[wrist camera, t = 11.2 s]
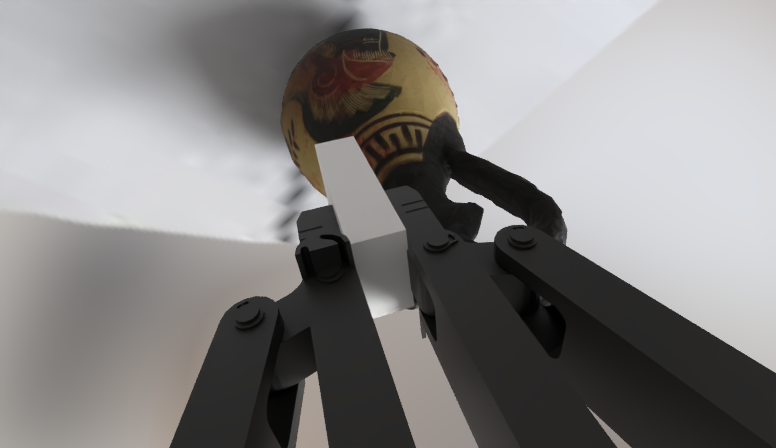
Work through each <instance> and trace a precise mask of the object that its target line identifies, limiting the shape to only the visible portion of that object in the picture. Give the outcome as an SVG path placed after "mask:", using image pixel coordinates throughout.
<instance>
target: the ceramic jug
mask: <svg viewBox="0 0 776 448" xmlns="http://www.w3.org/2000/svg"><path fill="white" fill-rule="evenodd" d="M281 127H282V131H283V135H284V138H285V141H286V144H287V147H288V149H289V152H290V155H291V158H292V160H293V162H294V163H295V165H296V166H297V167H298V169H299V170H300V172H301V173H302V174H303V175H304V176H305V177H306V178H307V180H308V181H309V182H310V183H311V184H312V186H313V187H314V188H315V189H317V190H318V191H319V192H320V193H321V194H323V195H324V196H325V197H327V196H326V191H325V187H324V183H323V179H322V174H321V170H320V166H319V162H318V158H317V153H316V149H315V144H320V143H324V142H329V141H333V140H338V139H343V138H347V137H352V136H354V138H355V140H356V142H357V144H358V145H359V147H360V149H361V151H362V152H363V154H364V156H365V158H366V159H367V161H368V163H369V165H370V167H371V168H372V170H373V172H374V174H375V175H376V177H377V179H378V181H379V183H380V184H381V186H382V188H383V190H384V191H385V190H389V189H394V188H398V187H402V186H406V185H407V186H409V187H411V188H412V189H414V190H416V191H418V193H419V194H420V195H421V197H422V198H423V200H424V201H425V202H426V204H427V205H428V208H430V210H431V211H432V212H433V214H434V215H435V217H436V218H437V219H438V221H439V222H440V224H441V225H442V226H443V228H444V229H445V230H449V231H452V232H454V233H456V234H458V235H459V236H460V237H461V238H462V239H463V241H464V242H469V243H477V242H475V241H474V239H475V238H476V236H477V234H478V231H479V228H480V224H481V220H482V216H483V210H484V209H483V208H482V207H480V206H479V205H477V204H476V203H471V202H468V203H455V202H452V201H451V200H449V199H448V198H447V196H446V194H445V192H446V187H447V184H448V183H449V180H450V178H452V179H454V180H456V181H457V182H458V183H459V184H460V185H462V186H464V187H465V188H467V189H469V190H471V191H472V192H474V193H476V194H479V195H482V196H484V197H485V198H487V199H489V200H491V201H492V202H493V203H494V204H495V205H496V206H499V207H501V208H503V209H504V210H506V211H507V212H509V213H511V214H512V215H514V216H516V217H519V218H521V219H522V220H524V222H525V223H526V224H527V226H531V227H534V228H536V229H539V230H541V231H543V232H544V233H546V234H548V235H549V236H551V237H553V238H554V239H556V240H557V241H559V242H561V243H562V244H564V245H566V238H567V228H566V225H565V222H564V219H563V217H562V211H561V209H560V208H559V207H558V205H557V204H556V203H555V201H554V200H553V199H552V197H550V196H548V195H546V194H545V193H543V192H542V191H540V190H538V189H537V187H536V186H535V185H534V184H532V183H530V182H529V181H528V180H526V179H524V178H522V177H521V176H518V175H516V174H513V173H511V172H508V171H507V170H504V169H503V168H501V167H499V166H496V165H495V164H492V163H491V162H489V161H487V160H485V159H482V158H479V157H477V156H474V155H471V154H469V153H467V152H466V149H465V145H464V142H463V139H462V137H461V135H460V133H459V117H458V113H457V105H456V102H455V100H454V94H453V92H452V91H451V89H450V87H449V84H448V81H447V78H446V77H445V76H444V74H443V72H442V71H441V70H440V68H439V66H438V64H437V63H436V62H434V61H433V59H432V58H431V57H430V56H429V55H428V54H427V53H426V52H425V51H423V50H422V49H421V48H420V47H419V46H417V45H416V44H415V43H413V42H412V41H410V40H408V39H406V38H404V37H402V36H400V35H398V34H394V33H391V32H388V31H384V30H379V29H355V30H350V31H346V32H342V33H339V34H336V35H333V36H331V37H329V38H327V39H325V40H323V41H322V42H320V43H319V44H317V45H316V46H314V47H313V48H312V49H311V50H310V51H309V52H308V53H307V54H306V55H305V56H304V57H303V58H302V60H301V61H300V62H299V63H298V65H297V66H296V68H295V69H294V70H293V72H292V74H291V76H290V79H289V81H288V84H287V87H286V90H285V93H284V96H283V103H282V113H281ZM413 298H414V307H411V308H408V309H410V310H413V309H417V308H418V306H419V305H418V303H417V301H416V299H415V297H414V295H413Z"/></svg>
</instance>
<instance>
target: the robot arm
mask: <svg viewBox="0 0 776 448" xmlns="http://www.w3.org/2000/svg"><path fill="white" fill-rule="evenodd" d="M315 149H316V153H317V158H318V162H319V166H320V170H321V174H322V179H323V183H324V187H325V191H326V196H327V200H328V204H329V205H328V206H324V207H320V208H316V209H312V210H307V211H303V212H301V214H300V216H299V218H298V220H297V228H298V233H299V240H300V244H299V245H298V246H297V248H296V252H295V257H296V260H297V263H298V266H299V269H300V272H301V276H302V279H303V280H302V282H301V284H300V285H299V286H298V288H296V289H295V290H294V291H293V292H292V293H291V294H289V295H287V296H286V297H284V298H282V299H280V300H278V301H276V302H274V301H273V300H272V299H270V298H267V297H259V296H255V297H252V298H247V299H244V300H242V301H240V302H238V303H236V304H234V305H233V306H232V307H231V308H230V309H229V310H228V311H226V313H225V314H224V316H223V317H222V319H221V320H220V323H219V325H218V328H217V330H216V333H215V335H214V338H213V340H212V343H211V345H210V348H209V350H208V353H207V355H206V358H205V360H204V363H203V365H202V368H201V370H200V373H199V375H198V378H197V380H196V383H195V385H194V388H193V390H192V393H191V395H190V398H189V400H188V403H187V405H186V408H185V410H184V413H183V415H182V418H181V420H180V423H179V425H178V428H177V430H176V433H175V435H174V438H173V440H172V443H171V445H170V447H169V448H295V447H296V441H297V433H298V427H299V420H300V414H301V407H302V400H303V394H304V387H305V378H306V377H308V376H310V375H311V374H313V373H314V372H316V371H317V373H318V379H319V386H320V392H321V399H322V405H323V412H324V418H325V424H326V431H327V437H328V444H329V448H416V447H415V444H414V441H413V438H412V435H411V432H410V429H409V426H408V423H407V420H406V417H405V414H404V411H403V408H402V405H401V402H400V399H399V396H398V393H397V390H396V387H395V384H394V381H393V378H392V375H391V372H390V369H389V366H388V363H387V360H386V357H385V354H384V351H383V348H382V345H381V342H380V339H379V336H378V333H377V330H376V327H375V324H374V321H373V318H377V317H380V316H384V315H387V314H390V313H394V312H397V311H401V310H404V309H408V308H411V307H414V298H413V295H414V297H415V299H416V301H417V303H418V305H419V314H420V325H421V333H422V338H426V333H427V335H428V338H429V340H430V342H431V344H432V346H433V349H434V351H435V353H436V355H437V357H438V360H439V362H440V364H441V366H442V368H443V370H444V373H445V375H446V377H447V379H448V381H449V383H450V386H451V388H452V390H453V392H454V394H455V397H456V399H457V401H458V403H459V405H460V408H461V410H462V412H463V414H464V416H465V418H466V421H467V423H468V425H469V427H470V429H471V431H472V434H473V436H474V438H475V440H476V442H477V445H478V447H479V448H617V447H616V445H615V444H614V443H613V442H612V440H611V439H610V437H609V436H608V435H607V433H606V432H605V431H604V429H603V428H602V427H601V425H600V424H599V423H598V421H597V420H596V419H595V417H594V416H593V415H592V413H591V412H590V411H589V409H588V408H587V407H589V408H590V409H591V410H592V411H593V412H594V413H595V414H596V415H597V416H598V417H599V418H600V419H602V420H603V421H604V422H605V423H606V424H607V425H608V426H609V427H610V428H611V429H612V430H613V431H614V432H615V433H617V434H618V435H619V436H620V437H621V438H622V439H623V440H624V441H625V442H626V443H627V444H629V445H630V446H631V447H632V448H776V373H775V372H773V371H771V370H770V369H768V368H766V367H765V366H763V365H761V364H760V363H758V362H757V361H755V360H753V359H752V358H750V357H748V356H747V355H745V354H743V353H742V352H740V351H738V350H737V349H735V348H734V347H732V346H730V345H728V344H727V343H725V342H724V341H722V340H720V339H719V338H717V337H715V336H714V335H712V334H710V333H709V332H707V331H706V330H704V329H702V328H701V327H699V326H697V325H696V324H694V323H692V322H691V321H689V320H687V319H686V318H684V317H683V316H681V315H679V314H678V313H676V312H674V311H672V310H671V309H669V308H668V307H666V306H664V305H663V304H661V303H659V302H658V301H656V300H655V299H653V298H651V297H649V296H648V295H646V294H644V293H643V292H641V291H640V290H638V289H636V288H635V287H633V286H632V285H630V284H628V283H627V282H625V281H623V280H621V279H620V278H618V277H617V276H615V275H613V274H612V273H610V272H608V271H607V270H605V269H603V268H602V267H600V266H599V265H597V264H595V263H594V262H592V261H590V260H589V259H587V258H585V257H584V256H582V255H580V254H579V253H577V252H575V251H574V250H572V249H570V248H569V247H567V246H566V245H564V244H562V243H561V242H559V241H557V240H556V239H554V238H553V237H551V236H549V235H548V234H546V233H544V232H543V231H541V230H539V229H536V228H534V227H531V226H525V225H512V226H508V227H505V228H503V229H501V230H500V231H498V232H497V234H496V236H495V239H494V242H485V243H469V242H464V241H463V239H462V238H461V237H460V236H459V235H458V234H456V233H454V232H452V231H449V230H445V229H444V228H443V226H442V225H441V224H440V222H439V221H438V219H437V218H436V217H435V215H434V214H433V212H432V211H431V210H430V208H428V205H427V204H426V202H425V201H424V200H423V198H422V197H421V195H420V194H419V193H418V191H416V190H414V189H412V188H411V187H409V186H407V185H406V186H402V187H398V188H394V189H389V190H385V191H384V190H383V188H382V186H381V184H380V183H379V181H378V179H377V177H376V175H375V174H374V172H373V170H372V168H371V167H370V165H369V163H368V161H367V159H366V158H365V156H364V154H363V152H362V151H361V149H360V147H359V145H358V144H357V142H356V140H355V138H354V136H352V137H347V138H343V139H338V140H333V141H329V142H324V143H320V144H315Z"/></svg>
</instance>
